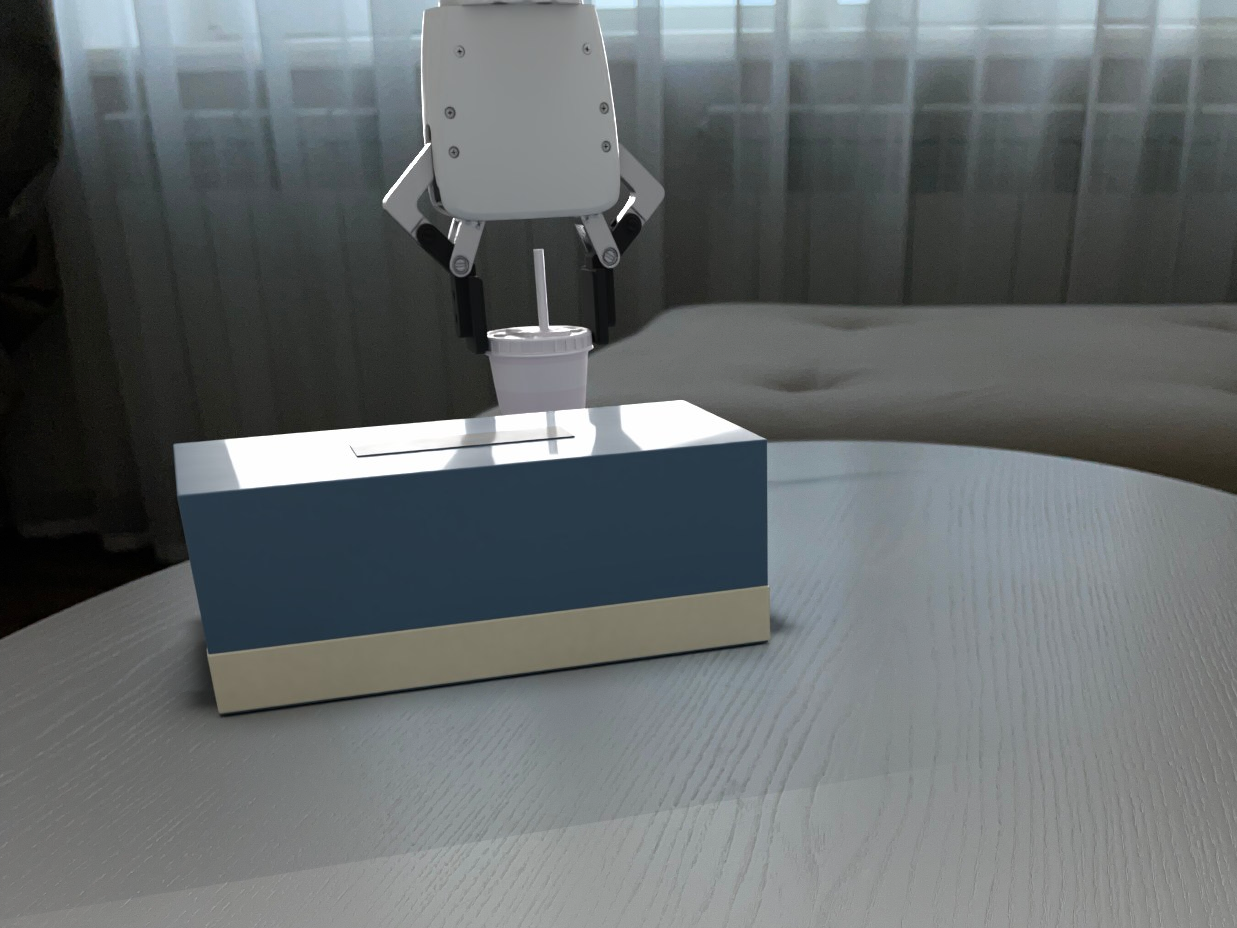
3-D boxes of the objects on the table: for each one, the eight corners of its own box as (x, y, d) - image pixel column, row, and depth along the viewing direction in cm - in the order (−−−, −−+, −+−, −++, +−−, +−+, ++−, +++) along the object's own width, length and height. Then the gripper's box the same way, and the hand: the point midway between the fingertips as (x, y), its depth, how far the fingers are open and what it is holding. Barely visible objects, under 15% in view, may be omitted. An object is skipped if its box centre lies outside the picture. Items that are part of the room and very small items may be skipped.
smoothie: (559, 520, 84) (539, 254, 77) (474, 508, 87) (448, 252, 80) (623, 497, 88) (610, 245, 81) (541, 487, 91) (521, 243, 85)
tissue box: (219, 717, 57) (175, 494, 52) (209, 636, 66) (171, 442, 62) (770, 642, 63) (769, 437, 58) (690, 578, 72) (684, 398, 68)
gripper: (648, -19, 80) (661, 329, 89) (331, -17, 75) (378, 350, 84) (690, -33, 74) (700, 343, 82) (348, -32, 69) (396, 366, 78)
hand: (537, 343), depth 83 cm, fingers closed on smoothie, 6 cm apart
